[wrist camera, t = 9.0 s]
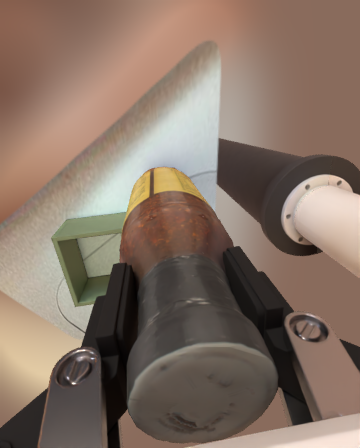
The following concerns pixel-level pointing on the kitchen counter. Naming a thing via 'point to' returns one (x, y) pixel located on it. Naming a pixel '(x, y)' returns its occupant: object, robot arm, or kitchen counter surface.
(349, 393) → the robot arm
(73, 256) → the caddy
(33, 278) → the kitchen counter surface
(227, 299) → the sauce bottle
